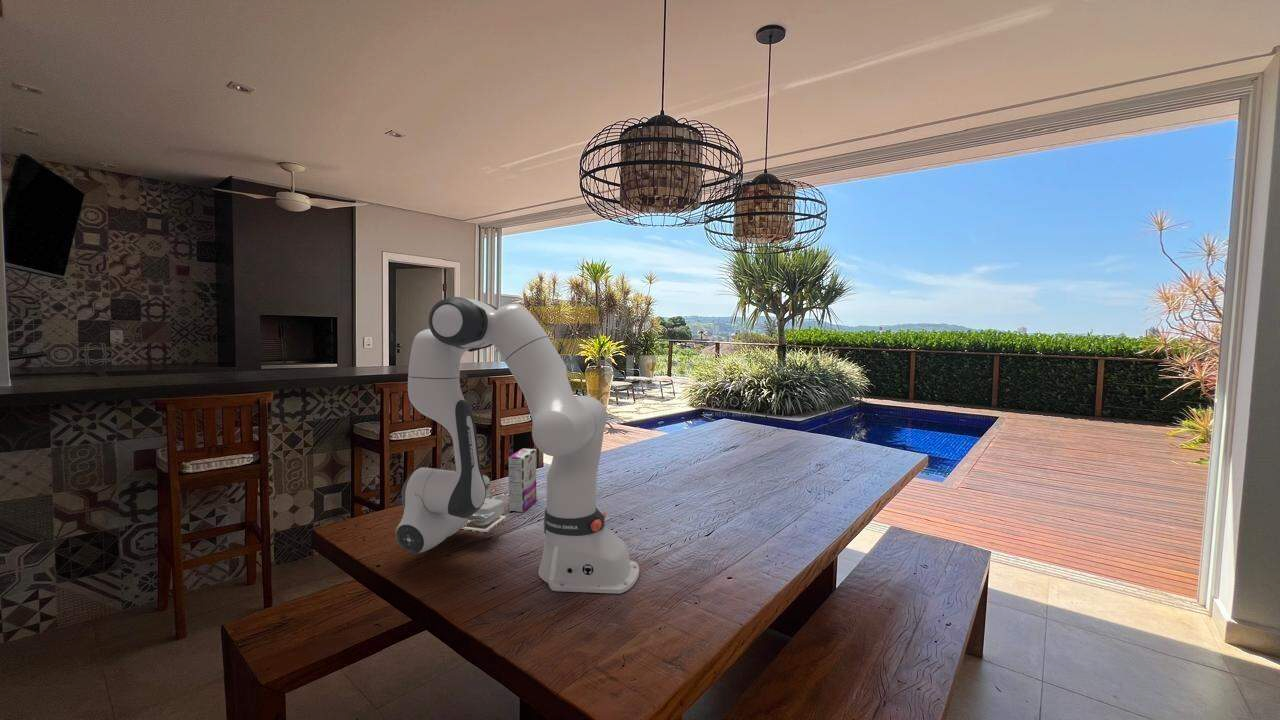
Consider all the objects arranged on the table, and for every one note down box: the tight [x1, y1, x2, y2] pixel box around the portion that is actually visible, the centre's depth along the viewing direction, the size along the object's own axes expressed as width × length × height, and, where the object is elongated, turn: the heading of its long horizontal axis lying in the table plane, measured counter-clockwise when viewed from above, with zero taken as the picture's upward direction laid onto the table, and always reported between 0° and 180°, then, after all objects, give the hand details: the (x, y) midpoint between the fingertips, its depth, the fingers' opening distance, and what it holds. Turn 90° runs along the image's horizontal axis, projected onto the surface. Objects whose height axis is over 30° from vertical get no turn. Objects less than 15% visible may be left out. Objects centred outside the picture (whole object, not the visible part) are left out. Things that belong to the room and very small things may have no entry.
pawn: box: [473, 474, 492, 527], centre depth 148 cm, size 4×4×14 cm
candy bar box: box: [507, 447, 537, 513], centre depth 163 cm, size 11×5×16 cm, turn 171°
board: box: [462, 515, 507, 533], centre depth 149 cm, size 24×13×1 cm, turn 77°
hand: (479, 497), depth 147 cm, fingers open, 8 cm apart
